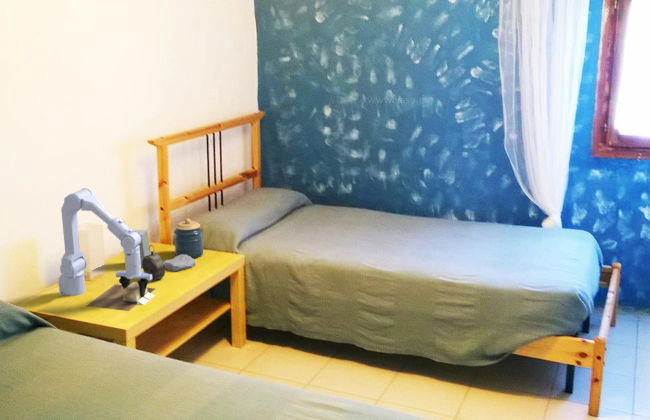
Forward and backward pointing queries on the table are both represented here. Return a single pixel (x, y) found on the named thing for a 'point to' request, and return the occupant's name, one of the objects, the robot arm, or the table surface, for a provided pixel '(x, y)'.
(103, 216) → the robot arm
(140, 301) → the paint flake
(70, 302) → the table surface
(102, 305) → the walnut board
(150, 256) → the alarm clock
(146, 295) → the paint flake
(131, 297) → the block
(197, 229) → the canister
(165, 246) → the table surface
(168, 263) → the stone block
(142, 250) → the skincare box
